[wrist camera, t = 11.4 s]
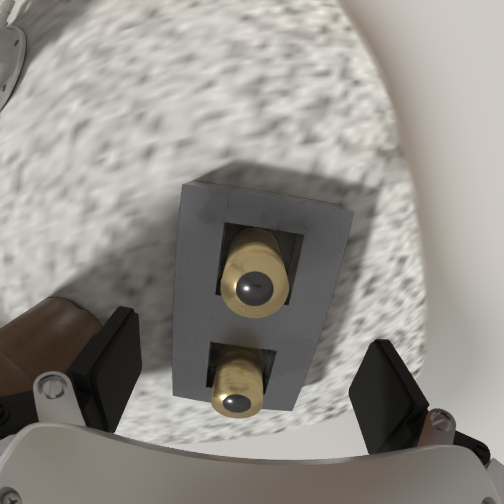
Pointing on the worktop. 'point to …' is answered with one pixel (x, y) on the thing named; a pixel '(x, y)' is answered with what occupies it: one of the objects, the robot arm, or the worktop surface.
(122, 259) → the worktop surface
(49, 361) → the plant pot
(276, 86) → the worktop surface
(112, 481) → the robot arm
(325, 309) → the jig
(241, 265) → the brass cylinder
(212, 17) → the worktop surface
